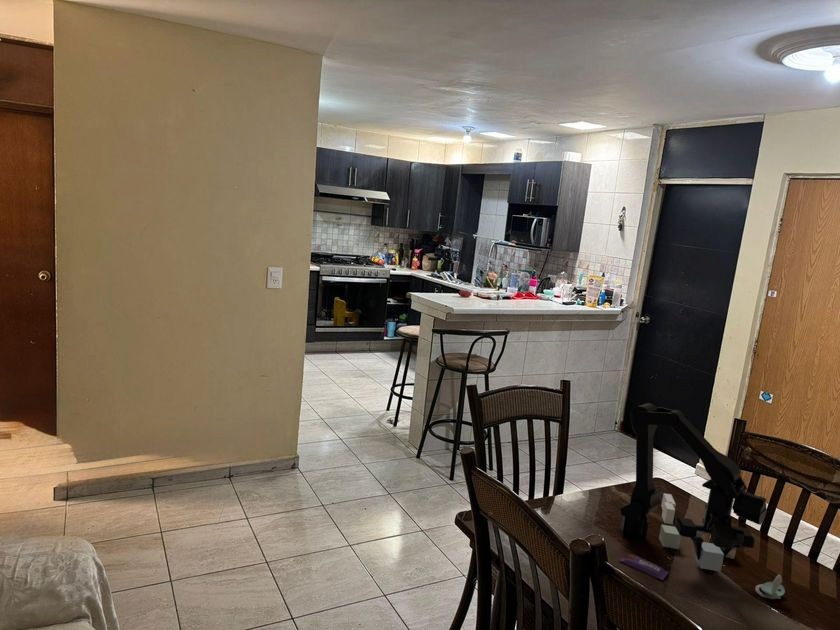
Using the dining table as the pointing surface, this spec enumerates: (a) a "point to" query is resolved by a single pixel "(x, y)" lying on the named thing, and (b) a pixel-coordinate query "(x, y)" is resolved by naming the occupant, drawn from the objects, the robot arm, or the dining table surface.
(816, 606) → the dining table surface
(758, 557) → the dining table surface
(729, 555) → the birch block
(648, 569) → the snack package
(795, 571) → the dining table surface
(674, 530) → the sage block
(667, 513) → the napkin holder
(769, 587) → the pacifier
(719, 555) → the blue block
